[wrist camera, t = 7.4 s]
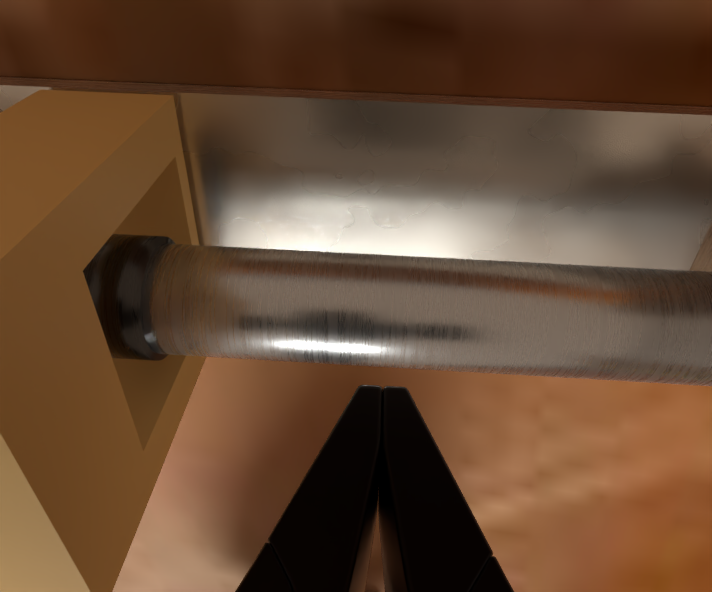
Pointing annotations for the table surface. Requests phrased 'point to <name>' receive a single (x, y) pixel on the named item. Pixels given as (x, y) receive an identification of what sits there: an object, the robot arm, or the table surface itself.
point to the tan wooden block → (81, 333)
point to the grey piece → (423, 234)
